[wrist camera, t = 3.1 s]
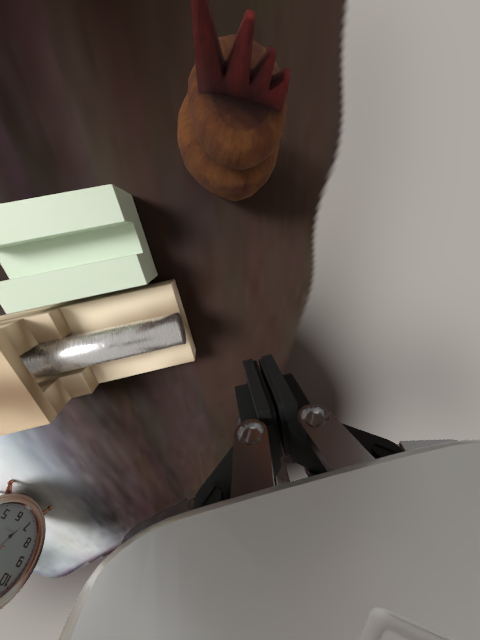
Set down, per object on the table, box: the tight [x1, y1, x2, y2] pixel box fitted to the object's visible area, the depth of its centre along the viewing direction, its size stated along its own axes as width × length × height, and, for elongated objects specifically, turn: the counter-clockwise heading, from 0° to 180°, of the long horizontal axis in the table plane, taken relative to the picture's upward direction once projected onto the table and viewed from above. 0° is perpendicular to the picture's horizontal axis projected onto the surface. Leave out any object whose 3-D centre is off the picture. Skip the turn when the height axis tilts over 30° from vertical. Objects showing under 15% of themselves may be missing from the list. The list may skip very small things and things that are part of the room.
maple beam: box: [0, 279, 196, 436], centre depth 20 cm, size 8×28×7 cm, turn 101°
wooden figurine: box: [177, 0, 291, 202], centre depth 13 cm, size 7×6×15 cm
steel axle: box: [20, 312, 186, 379], centre depth 20 cm, size 16×3×3 cm, turn 101°
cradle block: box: [0, 184, 158, 314], centre depth 18 cm, size 7×11×4 cm, turn 101°
